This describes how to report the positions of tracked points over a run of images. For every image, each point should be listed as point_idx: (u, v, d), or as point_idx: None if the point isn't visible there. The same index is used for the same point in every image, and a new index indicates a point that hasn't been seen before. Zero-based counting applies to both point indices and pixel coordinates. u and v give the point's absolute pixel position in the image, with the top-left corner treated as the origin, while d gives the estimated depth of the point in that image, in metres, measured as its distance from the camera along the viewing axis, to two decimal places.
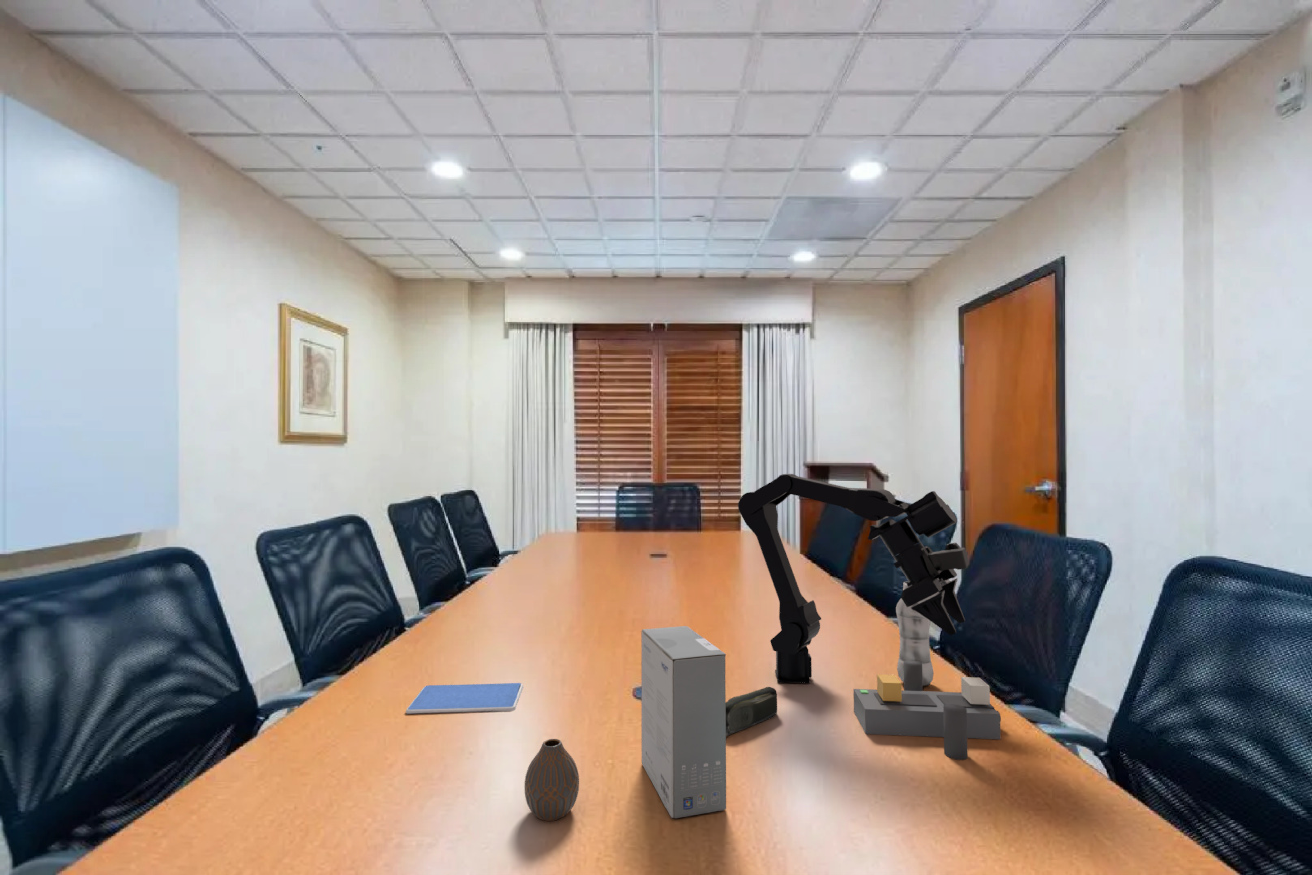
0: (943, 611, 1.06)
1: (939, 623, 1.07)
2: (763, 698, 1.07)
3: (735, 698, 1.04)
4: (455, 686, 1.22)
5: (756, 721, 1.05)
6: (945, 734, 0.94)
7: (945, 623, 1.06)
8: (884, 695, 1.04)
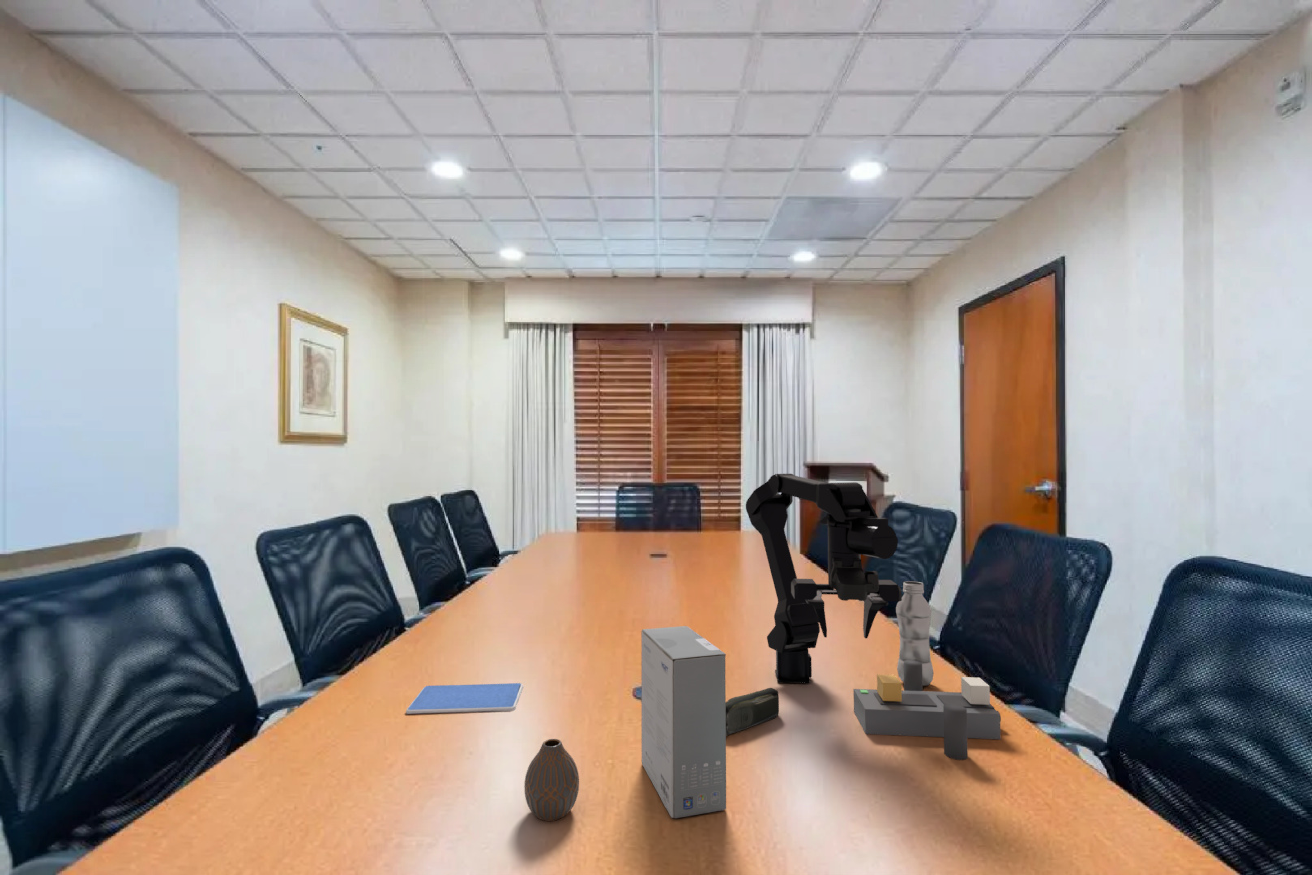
0: (818, 615, 1.13)
1: (819, 622, 1.14)
2: (764, 699, 1.06)
3: (735, 698, 1.04)
4: (455, 686, 1.22)
5: (756, 722, 1.05)
6: (945, 734, 0.94)
7: (820, 624, 1.14)
8: (884, 695, 1.04)
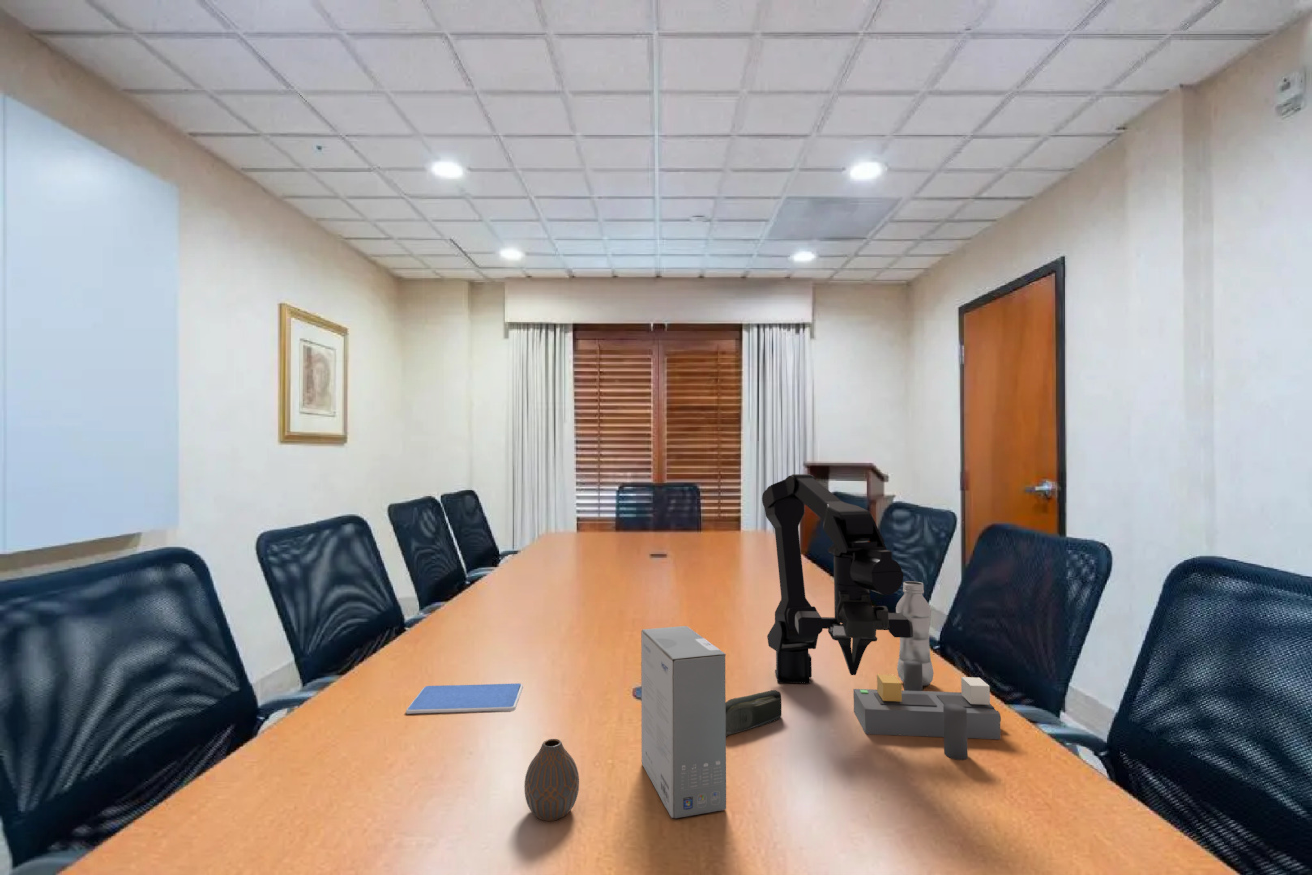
0: (843, 652, 1.06)
1: None
2: (765, 701, 1.05)
3: (734, 699, 1.04)
4: (455, 686, 1.22)
5: (756, 724, 1.04)
6: (945, 734, 0.94)
7: (846, 661, 1.07)
8: (884, 695, 1.04)
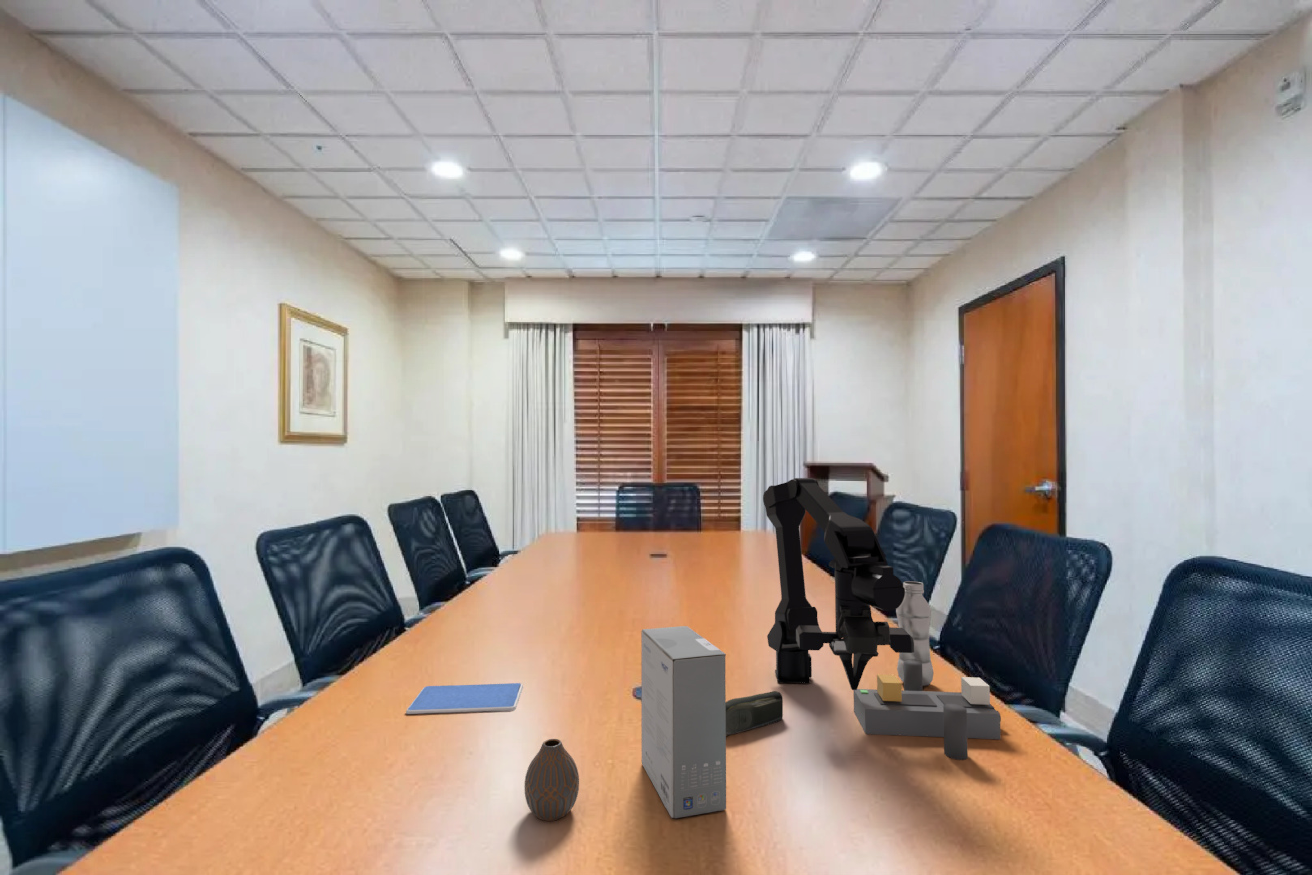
0: (845, 667, 1.06)
1: (846, 672, 1.07)
2: (765, 702, 1.05)
3: (734, 700, 1.04)
4: (455, 687, 1.22)
5: (756, 725, 1.04)
6: (945, 734, 0.94)
7: (847, 676, 1.07)
8: (884, 695, 1.04)
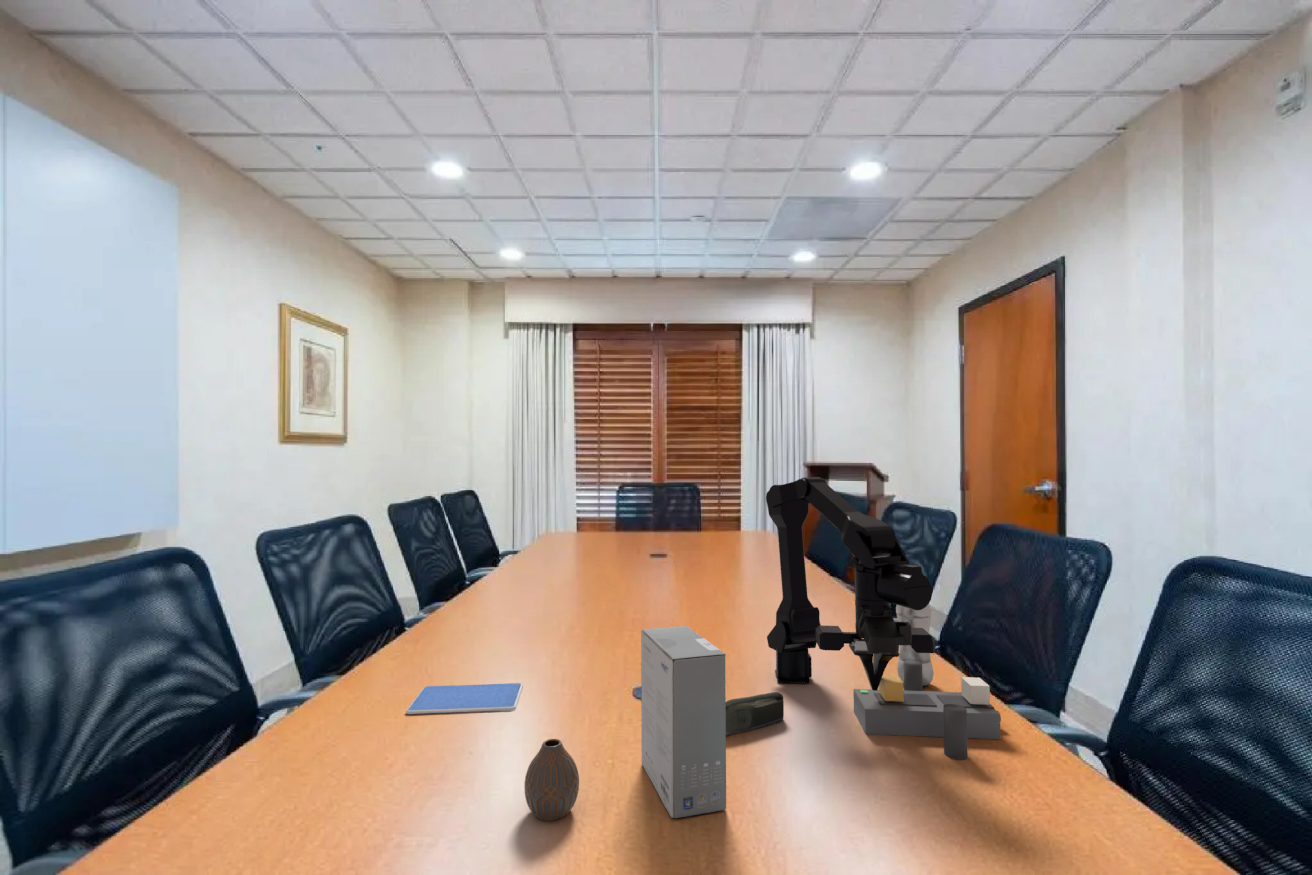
0: (865, 667, 1.05)
1: (866, 673, 1.07)
2: (765, 703, 1.05)
3: (734, 700, 1.04)
4: (455, 687, 1.22)
5: (756, 725, 1.03)
6: (945, 734, 0.94)
7: (868, 676, 1.06)
8: (886, 695, 1.04)
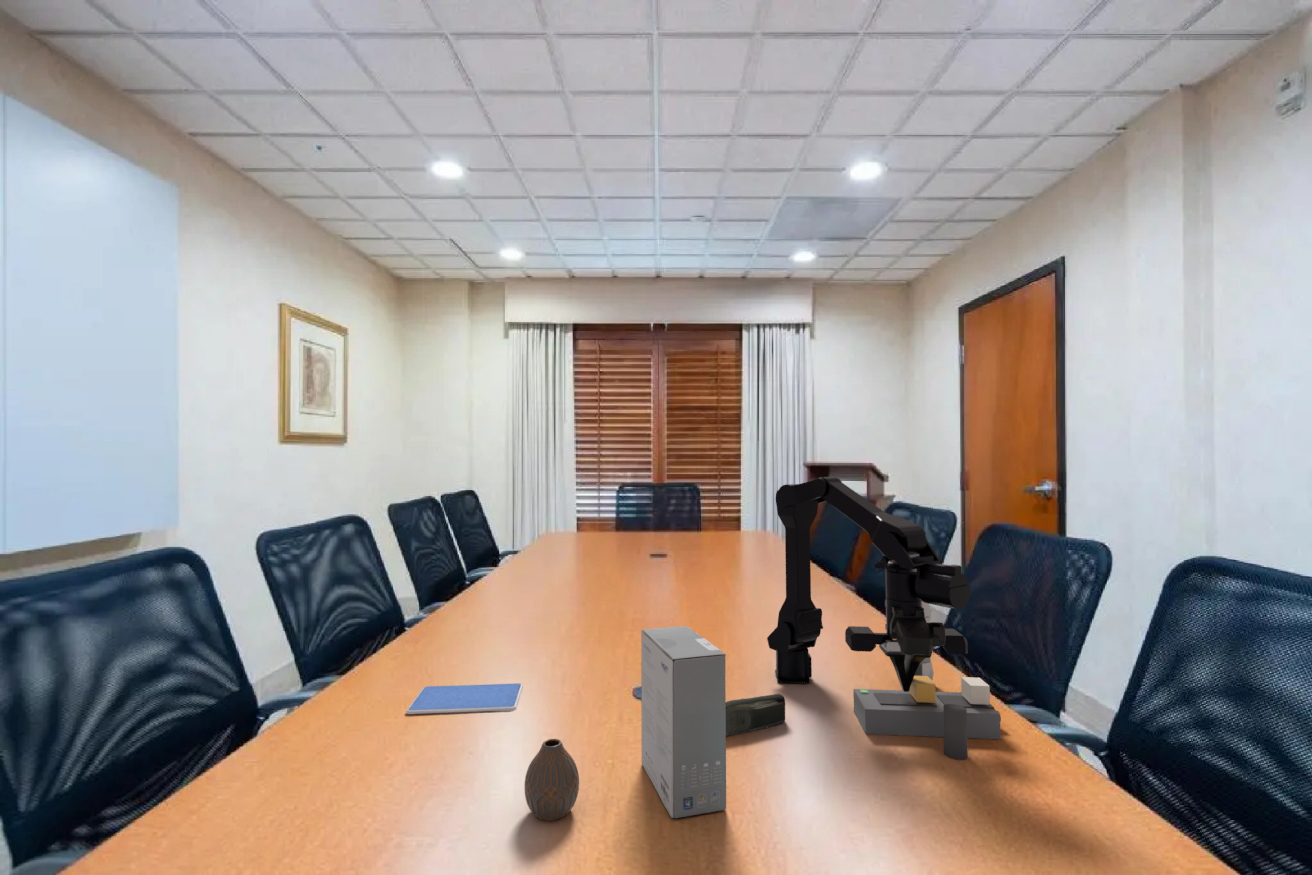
0: (897, 668, 1.05)
1: (897, 674, 1.06)
2: (766, 704, 1.04)
3: (733, 701, 1.03)
4: (454, 687, 1.21)
5: (755, 727, 1.03)
6: (945, 734, 0.94)
7: (899, 677, 1.06)
8: (918, 696, 1.03)
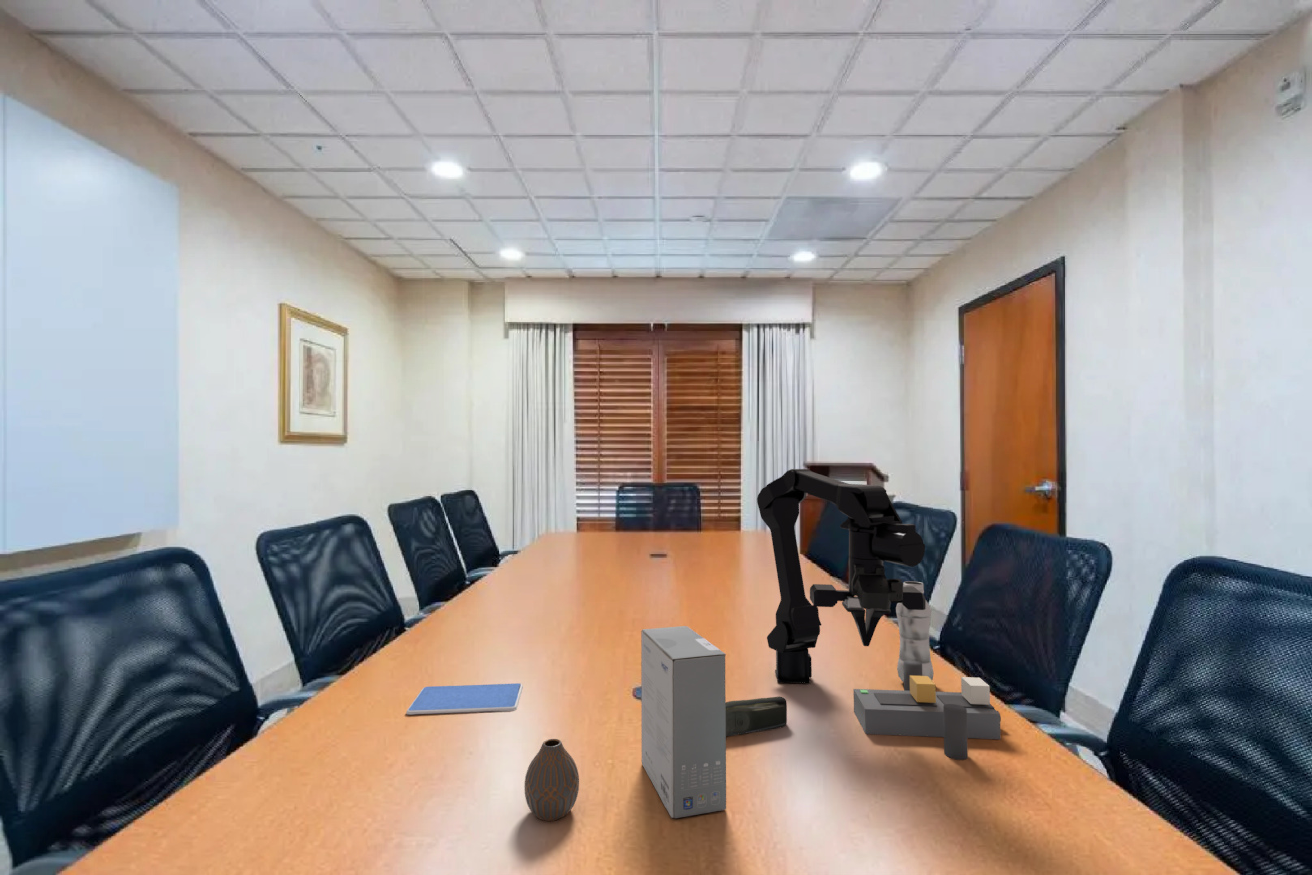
0: (857, 624, 1.09)
1: (858, 630, 1.10)
2: (766, 707, 1.03)
3: (732, 702, 1.03)
4: (454, 687, 1.21)
5: (755, 729, 1.02)
6: (945, 734, 0.94)
7: (859, 633, 1.10)
8: (918, 696, 1.03)
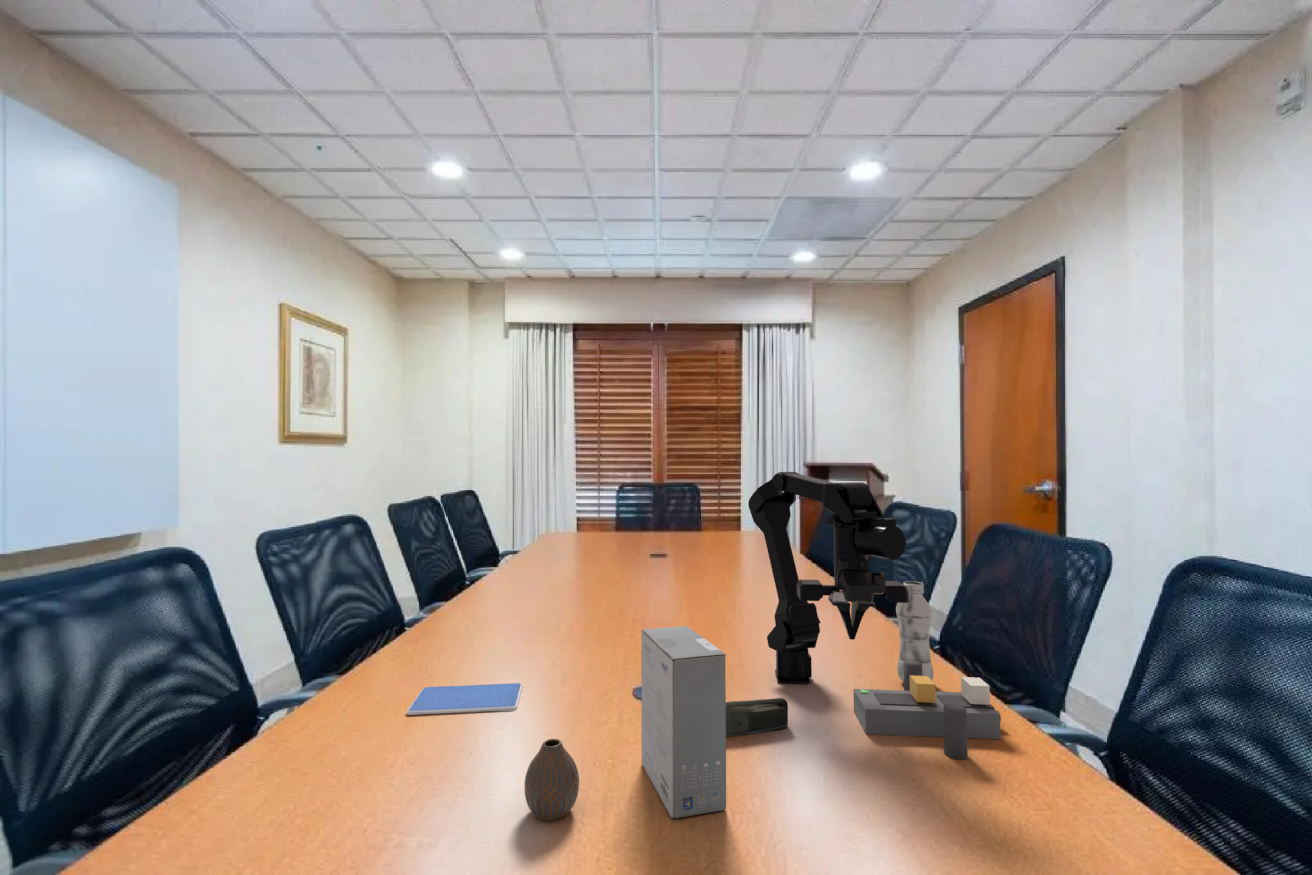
0: (843, 617, 1.11)
1: (844, 623, 1.13)
2: (765, 708, 1.02)
3: (731, 702, 1.03)
4: (454, 687, 1.21)
5: (754, 730, 1.02)
6: (945, 734, 0.94)
7: (845, 626, 1.12)
8: (918, 696, 1.03)
